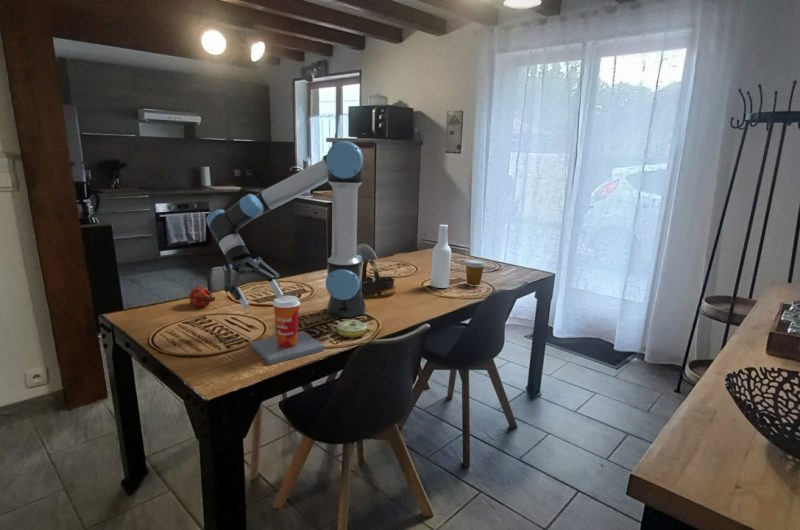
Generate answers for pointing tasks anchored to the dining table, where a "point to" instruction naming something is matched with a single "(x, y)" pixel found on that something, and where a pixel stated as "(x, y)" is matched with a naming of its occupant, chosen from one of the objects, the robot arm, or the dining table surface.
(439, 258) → the alcohol
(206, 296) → the dragon fruit
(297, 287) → the dining table surface
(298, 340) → the slate board
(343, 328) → the decorated donut
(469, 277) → the disposable coffee cup
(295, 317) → the coffee cup
